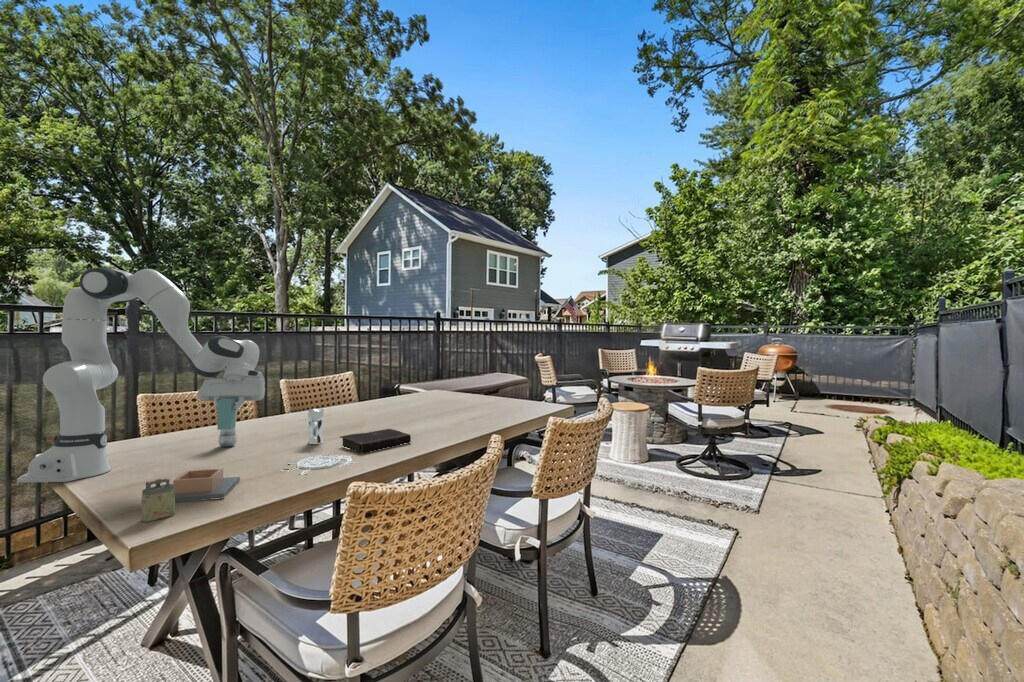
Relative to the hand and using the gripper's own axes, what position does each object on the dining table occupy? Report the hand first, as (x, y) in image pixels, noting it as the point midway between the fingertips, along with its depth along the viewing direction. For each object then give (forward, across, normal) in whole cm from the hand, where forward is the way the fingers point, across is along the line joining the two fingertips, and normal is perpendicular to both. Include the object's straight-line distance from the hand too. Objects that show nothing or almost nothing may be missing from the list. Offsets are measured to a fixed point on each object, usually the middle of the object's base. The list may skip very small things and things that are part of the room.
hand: (225, 409), depth 151 cm
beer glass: (-15, +19, +48) cm, 54 cm away
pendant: (+8, +28, +25) cm, 38 cm away
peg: (+4, 0, +5) cm, 7 cm away
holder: (+27, -2, +6) cm, 27 cm away
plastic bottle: (-14, -16, +47) cm, 52 cm away
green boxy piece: (+40, -3, -7) cm, 41 cm away
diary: (-10, +46, +44) cm, 64 cm away
